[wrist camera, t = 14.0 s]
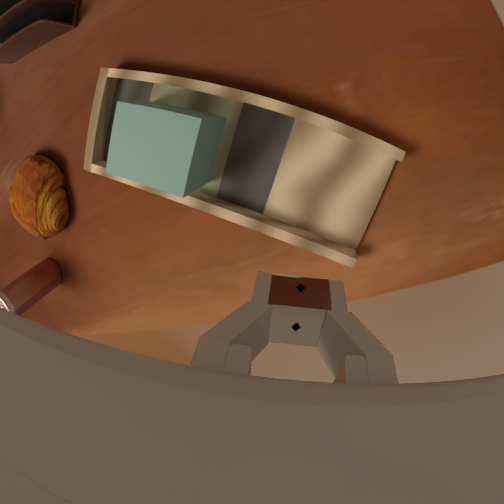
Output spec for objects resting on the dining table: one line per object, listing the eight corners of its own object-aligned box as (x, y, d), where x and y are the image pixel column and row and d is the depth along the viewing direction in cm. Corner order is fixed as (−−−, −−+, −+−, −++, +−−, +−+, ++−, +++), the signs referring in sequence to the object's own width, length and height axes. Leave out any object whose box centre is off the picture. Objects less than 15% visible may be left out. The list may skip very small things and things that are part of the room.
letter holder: (18, 22, 29) (-36, 21, 16) (84, -20, 25) (22, -37, 12) (13, 63, 33) (-43, 69, 21) (77, 27, 29) (8, 18, 17)
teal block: (226, 118, 31) (201, 118, 25) (209, 181, 35) (182, 198, 29) (153, 101, 32) (117, 101, 25) (141, 160, 36) (105, 172, 29)
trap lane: (398, 149, 29) (405, 151, 26) (351, 256, 36) (353, 268, 33) (115, 69, 31) (100, 67, 29) (97, 164, 38) (83, 169, 35)
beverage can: (65, 286, 51) (16, 328, 38) (48, 280, 52) (1, 317, 39) (59, 260, 49) (5, 300, 35) (41, 255, 50) (-10, 290, 36)
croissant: (72, 238, 48) (48, 261, 42) (20, 203, 46) (-6, 220, 39) (87, 171, 41) (57, 188, 34) (28, 138, 39) (-3, 150, 32)
